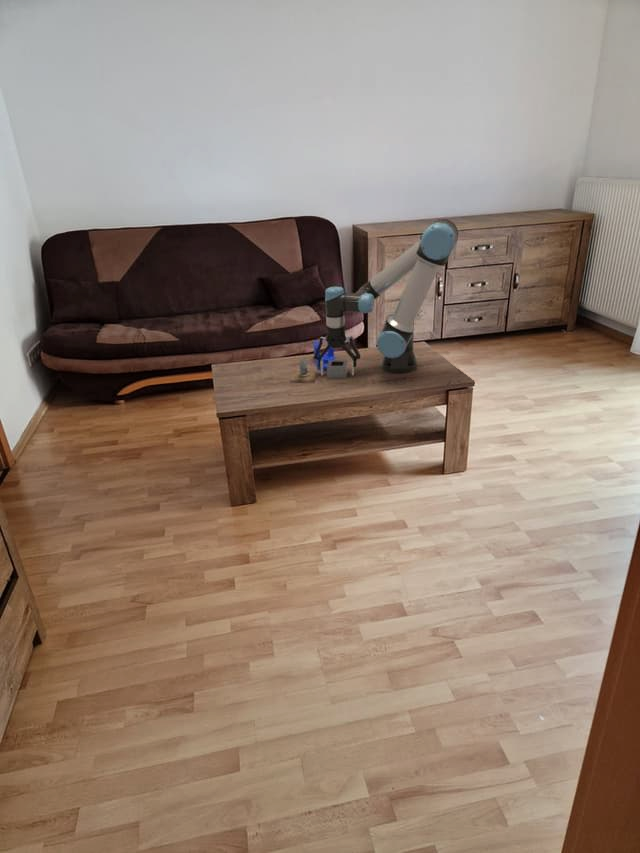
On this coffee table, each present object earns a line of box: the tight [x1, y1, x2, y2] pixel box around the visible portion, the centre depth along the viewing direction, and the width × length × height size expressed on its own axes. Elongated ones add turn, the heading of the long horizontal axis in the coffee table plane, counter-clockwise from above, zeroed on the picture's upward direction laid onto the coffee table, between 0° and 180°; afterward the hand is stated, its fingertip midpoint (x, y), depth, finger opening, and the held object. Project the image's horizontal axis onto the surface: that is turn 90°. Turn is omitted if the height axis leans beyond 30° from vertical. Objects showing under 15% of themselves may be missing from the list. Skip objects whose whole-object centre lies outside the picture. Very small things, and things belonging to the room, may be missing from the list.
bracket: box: [313, 340, 335, 372], centre depth 253 cm, size 18×8×9 cm, turn 6°
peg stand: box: [290, 358, 318, 384], centre depth 239 cm, size 10×10×8 cm
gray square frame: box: [326, 359, 349, 379], centre depth 241 cm, size 8×8×5 cm
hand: (337, 374), depth 242 cm, fingers open, 12 cm apart
